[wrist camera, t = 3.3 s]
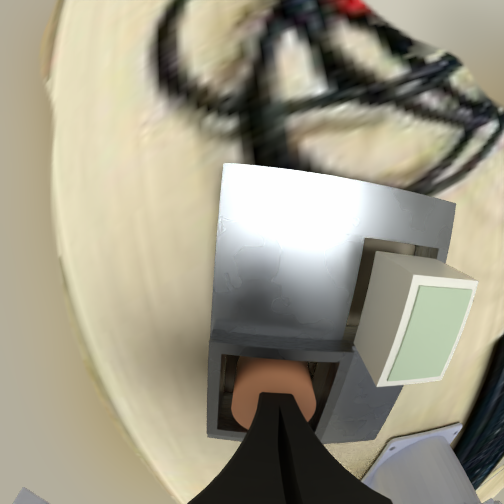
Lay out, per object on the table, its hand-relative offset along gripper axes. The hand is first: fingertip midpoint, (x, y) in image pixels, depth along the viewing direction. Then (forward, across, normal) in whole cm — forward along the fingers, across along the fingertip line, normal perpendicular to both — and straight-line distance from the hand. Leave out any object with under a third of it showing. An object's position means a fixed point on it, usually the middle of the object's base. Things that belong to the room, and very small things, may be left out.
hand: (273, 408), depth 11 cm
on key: (+1, -4, -5) cm, 7 cm away
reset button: (+3, 0, 0) cm, 3 cm away
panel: (+3, -2, -2) cm, 5 cm away
